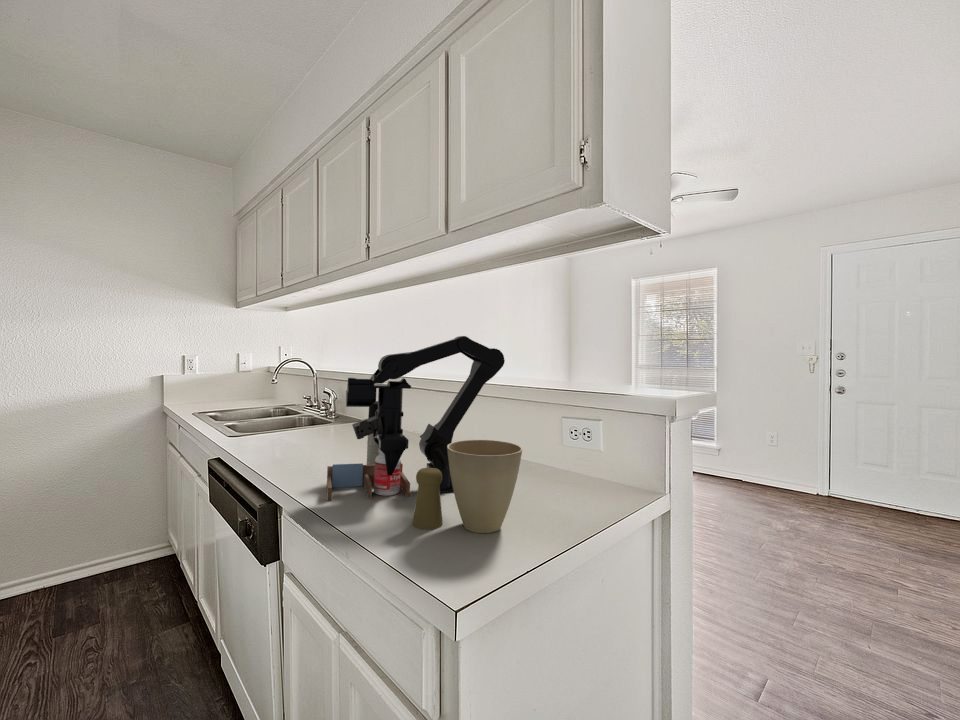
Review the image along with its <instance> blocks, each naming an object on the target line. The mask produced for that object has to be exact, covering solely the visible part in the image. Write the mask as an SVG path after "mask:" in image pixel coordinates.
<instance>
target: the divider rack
mask: <svg viewBox="0 0 960 720" xmlns="http://www.w3.org/2000/svg"><path fill="white" fill-rule="evenodd" d="M403 467H404V466H403V463H402V462H401V472H400V489H401V490H402V491H403V494H405V496H406V497H410V495H411V493H410V492H411V482H410V481H409V480H408V478H407V477H406V475H405V474H404V472H403ZM326 472H327V473H326V474H327V475H326V495H327V497H326V498H328V499H327V502H332V498H333V497H332V493H333V491H332V490H333V489H334V488H333V487H336V488H349V487H350V488H353V487H354V488H355V487H364V490H365V493H366V497H367V499H368V500H369V499H371V500H372V499H373V498H372V496H373V486H374V474H375V464H374V465H367V464H364V463H339V464H337V463H335V464H332V465H331V466H330V465H329V466H327V471H326Z"/></svg>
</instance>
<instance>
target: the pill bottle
mask: <svg viewBox="0 0 960 720" xmlns="http://www.w3.org/2000/svg"><path fill="white" fill-rule="evenodd" d="M378 452H379V453H380V454H379V455H378V456H377V457H376V458H375V474H374V485H373V492H374V493H375V495H379V496H384V497H385V496H387V497H388V496H389V497H390V496H395V495H397V494H399V492H400V489H401V486H400V472H401V463H402V458H400V460H399V462H398V464H397V466H396V468H395V470H394V472H393V474H392V475H387V470H386V463H385V455H384V453H383V452H382V451H381V450H380V449H379V451H378Z"/></svg>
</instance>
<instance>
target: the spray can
mask: <svg viewBox="0 0 960 720" xmlns="http://www.w3.org/2000/svg"><path fill="white" fill-rule="evenodd" d="M377 410H378V400H376V402H375V403H374V404H371V407H368V415H367V416H368V417H367V419H368V418H371V417H374V416H375V411H377ZM373 438H377V435H375V437H373V436H372V434H370V435H367V441H366V442H367V443H366V446H367V447H366V448H367V449H366V450H367V451H366V465H374V464H375V458H376V457H377V456H378V455H379V454H380V453H379V452H378V451H379V448H378V446H379V445H378V444H377V443H376V442H375V441H374V439H373Z"/></svg>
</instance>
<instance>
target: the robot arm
mask: <svg viewBox="0 0 960 720" xmlns="http://www.w3.org/2000/svg"><path fill="white" fill-rule="evenodd" d="M460 353H461V354H462V355H463V356H466V357H467V358H469V359H470V360H472V361H473V362H472V363H471V367H470V371H469V375H468V376H467V378H466V380H465V381H464V383H463V384H462V386H461V388H460V389H459V391H458V392H457V394H456V396H455V397H454V398H453V400H452V402H451V403H450V405H449V406H448V407H447V409H446V410H445V412H444V413H443V415H442V417H441V418H440V420H439V421H438V422H437V423H436V424H434V425H432V424H430V423H427V425H426V428H425V430H424V432H423V433H422V434H421V435H419V438H420V440H419V443H418V445H419V446H418V447H419V450H420V452H421V454H423V455H424V457H425V458H426V460H427V461H428V462H427V463H426V468H436V469H439V470H440V471H441V473H442V482H441V484H440V485H439V489H440V493H448V492H450V493H451V492H453V493H454V490H453V486H452V480H451V475H450V469H449V460H448V451H447V446H448V445H449V444H450V443H453V438H454V434H455V433H454V432H455V430H456V429H457V427H458V426H459V424H460V422H461V421H462V420H463V418H464V416H465V415H466V414H467V411H469V409H470V407H471V406H472V404H473V403H474V401H475V400H476V397H477V396H478V395H479V393H480V392H481V390H482V388H483V387H484V385H485V384H486V383H487V382H489V381H490V380H491V379H492V378H493V377H495V375H497V373H498V372H500V370H501V369H502V368H503V367H504V365H505V356H504V354H503V352H502V351H501V349H498V348H493V347H488V346H486V345H483V344H481V343H479V342H477V341H475V340H472V339H471V338H470V337H468V336H465V335H459V336H456V337H455V338H452V339H449V340H446V341H443V342H440V343H436V344H434V345H430V346H427V347H424V348H421V349H418V350H414V351H407V352H398V353H393V354H386V355H384V356H382V357H381V358H380V359H379V361H378V366H377V370H375V372H374V373H373V374H372V375H371V377H370V378H357V377H347V386H346V390H345V407H346V408H353V407H354V408H369V407H371V404H374V403H375V402H376V401H378V410H377V411H375V416H374V417H371V418H368V417H367V418H364V419H362V420H359V421H357V422H355V423H353V424H352V426H351V427H352V428H353V431H354V434H355V436H356V439H357V440H361V439H364V438H366V437H368V435H370V434H372V436H373V437H375V435H377V438H373V439H374V441H375V442H376V443H377V444H378V445H379V446H378V448H379V449H380V450H381V451H382V452H383V453H384V455H385V463H386V470H387V475H392V474H393V472H394V470H395V468H396V466H397V464H398V462H399V460H400V458H401V457H402V456H403V454H404V452H405V451H406V450H408V449H409V439H408V438H407V437H406V436H405V435H404V434H403V433H404V431H403V430H404V429H403V428H402V420H403V417H404V411H403V394H404V393H403V390H404V389H406V390H407V389H408V390H409V389H412V385H411V384H409V383H408V382H407V380H406V378H404V377H403V376H406V375H407V374H408V373H411V372H412V371H414V370H415V369H417V368H419V367H421V366H423V365H427V364H429V363H433V362H436V361H439V360H442V359H444V358H448V357H451V356H454V355H457V354H460ZM401 377H403V378H401ZM400 378H401V380H397V379H400ZM388 380H389V381H388ZM386 381H387V384H384V383H385V382H386ZM377 389H378V392H377ZM377 393H378V394H377ZM377 395H378V397H377ZM401 459H402V458H401Z"/></svg>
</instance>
